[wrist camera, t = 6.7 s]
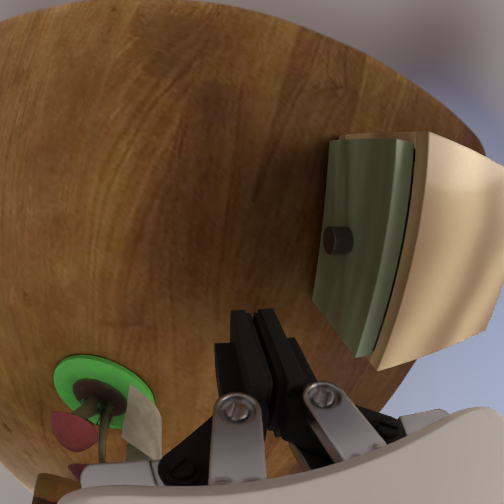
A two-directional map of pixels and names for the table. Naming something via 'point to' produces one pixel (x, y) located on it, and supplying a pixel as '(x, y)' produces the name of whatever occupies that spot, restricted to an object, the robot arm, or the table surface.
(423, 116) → the table surface
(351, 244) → the drawer
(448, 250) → the cabinet
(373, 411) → the robot arm
